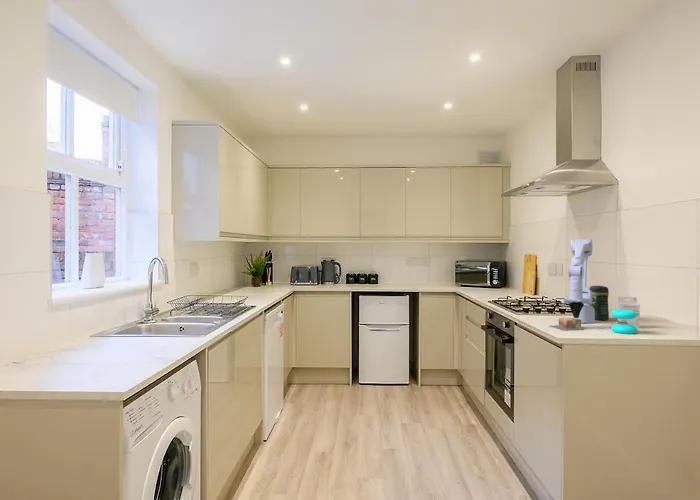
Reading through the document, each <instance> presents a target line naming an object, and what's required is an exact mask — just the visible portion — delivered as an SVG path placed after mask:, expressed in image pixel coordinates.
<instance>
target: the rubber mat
mask: <svg viewBox="0 0 700 500" xmlns="http://www.w3.org/2000/svg"><path fill="white" fill-rule="evenodd" d="M549 327H550V328H553V329H558V330H560V331H561V330H562V331H584V328H582V327H581V328H571V329H566V328H562V327H559V324H558V325H549Z"/></svg>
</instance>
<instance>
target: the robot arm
mask: <svg viewBox="0 0 700 500" xmlns="http://www.w3.org/2000/svg"><path fill="white" fill-rule="evenodd" d="M570 249H571V253H572V255H573V257H571V261H570V265H569V266H568V269H567V275H568V282H569V298H563V299H562V298H561V299H560V300H561V304H567V305H568V307H569V308H570V310H571V313H572V318H575V319H580V320H581V324H595V323H597V322H596V320H595V310H594V308H593V306H591V304H592V291H591V290H590V289H589V288H590V287H587V277H588V276H587V273H588V272H587V270H588V267H587V266H588V258H589V257H590V256H592V254H593V240H592V239H591V238H587V239H585V238H582V239H576V238H575V239H574V238H572V239H571V240H570Z"/></svg>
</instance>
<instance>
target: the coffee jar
mask: <svg viewBox="0 0 700 500" xmlns="http://www.w3.org/2000/svg"><path fill="white" fill-rule="evenodd" d="M588 288H589V289H590V290H591V291H592V304H591V306H593V308H594V310H595V321H608V320H610V315H609V312H610V310H609V296H610V295H609V293H610V291H609V288H608V287H607V286H604V285H591V286H590V287H588Z"/></svg>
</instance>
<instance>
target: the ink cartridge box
mask: <svg viewBox="0 0 700 500" xmlns="http://www.w3.org/2000/svg"><path fill="white" fill-rule="evenodd" d="M617 298H618V300H617V310H629V311H634V312H636V313H637V316H636V318H634V319H618V318H617V324H629V325H632V326H634V327H636V329H640V324H641V323H640V316H641V315H640V312H641V309H640V305H641V304H639V303H638V302H637V301H638V300H637V298H638V297H637V296H636V297H633V296H618V297H617Z"/></svg>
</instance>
